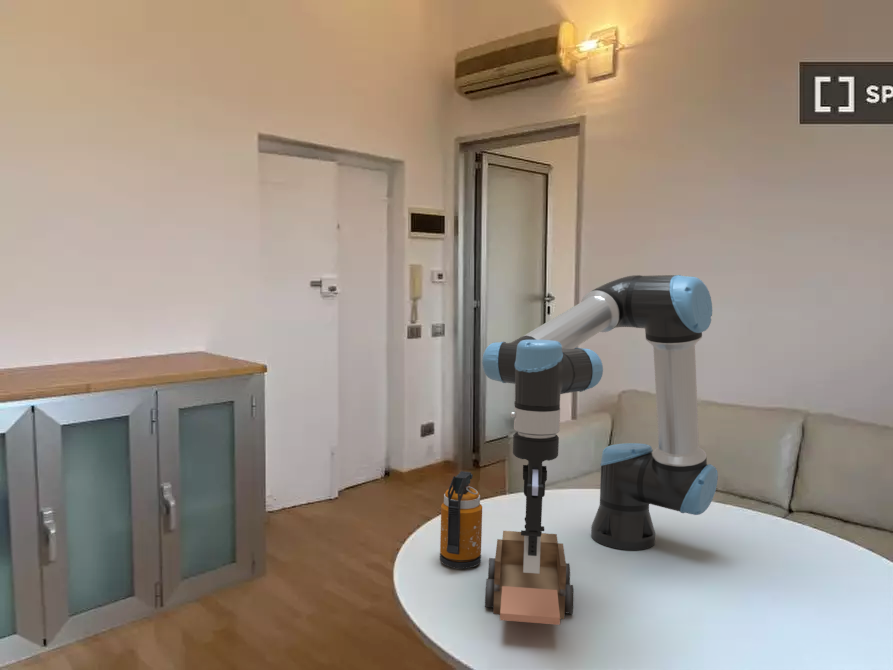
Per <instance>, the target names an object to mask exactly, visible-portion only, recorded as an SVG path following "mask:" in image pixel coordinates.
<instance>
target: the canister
mask: <svg viewBox="0 0 893 670" xmlns="http://www.w3.org/2000/svg"><path fill="white" fill-rule="evenodd" d="M473 475H474V474H473V473H472V472H471V471H462V470H461V471H460V472H459V473H458V474H457V475H456V476H455V475H453V477H452V480H451V482H450V485H449V486H448V487H449V488H448V489H446V491H445V493H444V494H443V502H442V503H441V506H440V508H441V509H440V538H439V539H440V543H439V545H440V546H439V552H440V553H439V561H440V563H442V564H443V565H445V566H446V567H450V568H453V569H458V570H459V569H461V570H463V569H469V568H473V567H476V566H478V565H480V563H481V561H482V534H483V531H482V530H483V529H482V528H483V527H482V526H483V505H482V504H481V495H480V493H479V491H478V490H477V489H475V488H474V487H472V486H470V484H471V480H473Z"/></svg>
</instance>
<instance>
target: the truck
mask: <svg viewBox="0 0 893 670" xmlns="http://www.w3.org/2000/svg"><path fill="white" fill-rule="evenodd" d="M494 557H495V558H494ZM494 557H489V559H488V567H487V568H488V573H487V578H486V579H485V592H484V593H485V595H484V596H485V597H484V598H485V599H484V603H485V604H484V607H486V608H493V611H492V612H493V613H492V614H494V615H500V609H501V596H502V586H510V587H523V588H536V589H550V590H557V593H558V603H559V613H560V620H565V614H571V615H573V613H574V599H575V598H574V586H573V584H570V583H571V566H570V563H569V562H568V563H567V562H566V555H565V549H564V543H560V542H558V534H557V533H546V532H545V533H544V532H542V535H541V546H540V574H537V573H524V572H523V563H524V536H522V535H521V531H517V530H515V531H512V530H502V539H501V538H500V539H499V538H497V540H496V547H495V556H494Z"/></svg>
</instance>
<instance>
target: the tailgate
mask: <svg viewBox="0 0 893 670" xmlns="http://www.w3.org/2000/svg"><path fill="white" fill-rule="evenodd" d="M499 621H507V622H517V623H518V622H520V623H532V624H546V625H556V626H557V625H558V626H560V625H561V619H560V613H559V603H558V593H557V590H550V589H536V588H523V587H510V586H502V596H501V609H500V614H499Z"/></svg>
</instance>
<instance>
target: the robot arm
mask: <svg viewBox="0 0 893 670" xmlns="http://www.w3.org/2000/svg"><path fill="white" fill-rule="evenodd" d="M711 317H713V303H712V297H711V294H710V291H709V289H708V286H707V285H706V284H705V282H704V281H703V280H701V279H700V278H698V277H696V276H687V275H685V276H684V275H681V274H678V275H677V274H675V275H674V274H672V275H671V274H670V275H666V274H665V275H663V274H662V275H640V274H639V275H638V274H637V275H629V276H628V275H627V276H624V277H619V278H617V279H614V280H612V281H609V282H607V283H604V284H602V285H600V286H598V287H596V288H593V289H592V290H591V291H588V293H586V294H585V295H584V296H583V297H582V299H581V300H580V302H579V303H578V304H575V305H573V307H570V308H569V309H567V310H565V311H563V312H562V313H560V314H558V315H556V316H555V317H553V318H551V319H550V320H547V321H546V322H545V323H543V324H541V325H539V326H537V327H536V328H535V329H532V330H531V331H529V332H527V333H525V334H524V335H522V336H520V337H519V338H517V339H515V340H513V341H511V342H506V341H499V342H498V341H497V342H492V343H490V344H489V345H488V346H487V347H485V350H484V351H483V355H482V358H481V359H482V360H481V361H482V362H481V363H482V369H483V372H484V374H485V376H486V377H487V378H488V379H490V380H492V381H496V382H500V383H503V384H513V385H515V386H514V409H513V410H514V411H512V412H510V418H512V419H514V420H513V429H514V431H515V433H514V434H513V435H512V454H513V456H514V457H516V458H518V459H520V460H526V461H527V464H523V465H522V479H523V495H524V496H525V497H526V498H525V517H524V522H525V524H524V530H521V531H520V532H521V535H522V536H524V563H523V572H524V573H537V574H540V546H541V535H542V533H543V532H545V526H544V525H543V526H542V519H543V518H542V516H543V515H542V513H543V498H544V497H545V493H546V481H547V479H548V470H547V465H543V462H545V461H553V460H555V459H557V458H558V456H559V448H560V447H559V446H560V445H559V443H560V442H559V440H560V438H559V436H558V433H559V432H560V429H561V428H560V426H561V423H560V422H561V395H564V394H570V393H575V392H576V393H577V392H579V393H581V392H586V391H587V390H590V389H592V388H595V387H596V386H597V385H598V384H599V383H600V382H601V380H602V377H603V372H604V366H603V363H602V360H601V358H600V356H599V354H597V352H595V351H594V350H592V349H589V348H584V347H583V348H582V347H579V346H580V345H582V344H583V343H585V342H586V341H588V340H589V339H591V338H593V337H594V336H596V335H597V334H599V333H607V332H609V331H612V330H613V329H616V328H635V329H644V330H645V331H644V333H645V340H646V341H647V342H648V343H649V344H650V345H651V346H652V347H653V365H654V382H655V386H654V387H655V402H656V404H655V405H656V418H657V419H656V421H657V422H656V423H657V439H658V446H657V447H656V448H655V449H653V448H652V446H651V445H649V444H647V443H640V442H639V443H636V442H633V443H632V442H631V443H630V442H628V443H615V444H611V445H609V446H606V447H605V448H604V449H603V450H602V453H601V462H600V481H599V482H600V485H599V487H600V488H599V489H600V490H599V491H600V492H599V505H598V508H597V511H596V513H595V516H594V519H593V522H592V523H591V526H590V527H591V528H590V529H591V531H590V536H591V539H593V540H594V541H595V542H596V543H598V544H600V545H603V546H606V547H609V548H613V549H618V550H625V551H639V550H646V549H647V550H648V549H650V548H651V547H653V546H655V543H656V530H655V527H654V525H653V524H654V523H653V520H652V516H651V513H650V505H652V506H657V507H660V508H664V509H669V510H672V511H675V512H680V514H687V515H688V514H689V515H693V516H699V515H702V514H703V513H704V512H706V511H707V509H708V508H709V507H710V506H711V503H712V501H713V499H714V497H715V494H716V490H717V486H718V477H719V473H718V470H717V468H716V467H715V466H714V465H712V464H711V463H709V464H708V462H707V457H708V456H707V452H706V451H705V450H704V449H703V448H701V447H700V444H699V443H700V441H699V418H698V417H699V416H698V415H699V414H698V412H699V411H698V393H697V391H698V390H697V368H696V367H697V365H696V363H697V361H696V344H698V342H699V341H701V339H702V338H703V333H704V332H705V331H707V330H708V329H709V327H710V326H711V323H712V318H711Z"/></svg>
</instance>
